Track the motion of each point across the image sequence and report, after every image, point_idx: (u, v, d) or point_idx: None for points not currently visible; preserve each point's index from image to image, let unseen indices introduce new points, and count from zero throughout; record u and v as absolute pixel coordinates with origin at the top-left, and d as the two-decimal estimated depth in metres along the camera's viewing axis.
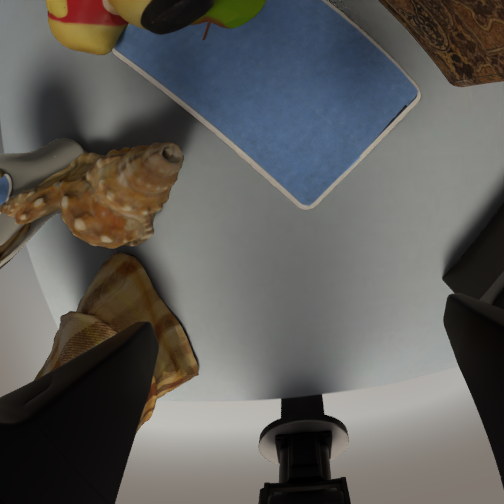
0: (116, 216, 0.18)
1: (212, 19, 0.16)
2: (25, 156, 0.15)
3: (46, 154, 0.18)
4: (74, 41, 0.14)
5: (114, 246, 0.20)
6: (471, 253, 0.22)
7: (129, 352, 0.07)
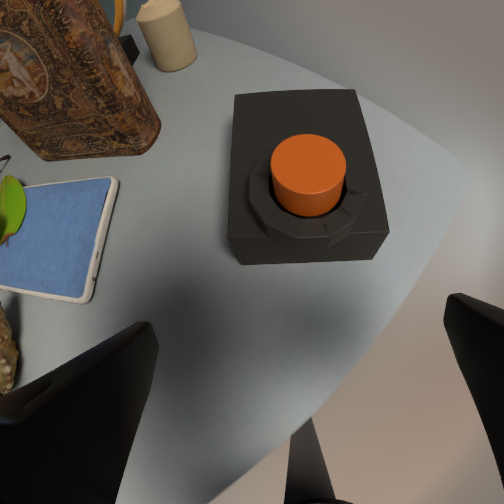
0: None
1: (7, 234, 0.27)
2: None
3: None
4: None
5: None
6: None
7: (129, 352, 0.07)
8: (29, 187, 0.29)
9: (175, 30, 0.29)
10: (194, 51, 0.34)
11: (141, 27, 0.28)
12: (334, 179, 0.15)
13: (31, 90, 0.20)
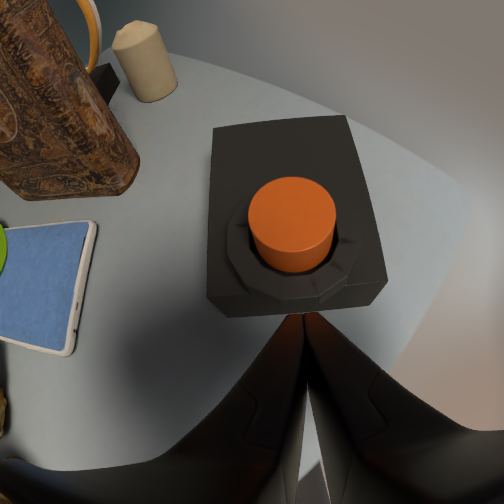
0: None
1: None
2: None
3: None
4: None
5: None
6: None
7: (304, 348, 0.07)
8: (10, 229, 0.28)
9: (152, 58, 0.28)
10: (174, 79, 0.33)
11: (117, 55, 0.27)
12: (322, 231, 0.14)
13: (2, 130, 0.19)
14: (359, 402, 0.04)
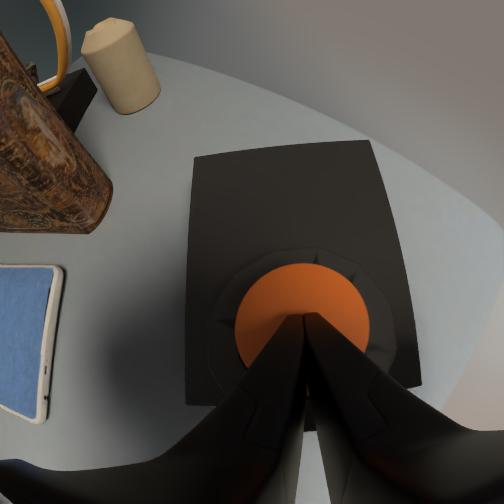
0: None
1: None
2: None
3: None
4: None
5: None
6: None
7: (304, 348, 0.07)
8: None
9: (128, 62, 0.23)
10: (156, 85, 0.28)
11: (87, 61, 0.22)
12: None
13: None
14: (359, 402, 0.04)
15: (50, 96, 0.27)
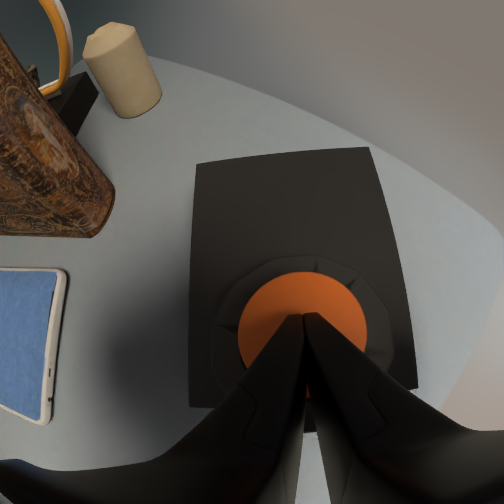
0: None
1: None
2: None
3: None
4: None
5: None
6: None
7: (304, 348, 0.07)
8: None
9: (129, 66, 0.24)
10: (157, 90, 0.28)
11: (88, 65, 0.23)
12: None
13: None
14: (359, 402, 0.04)
15: (52, 100, 0.28)
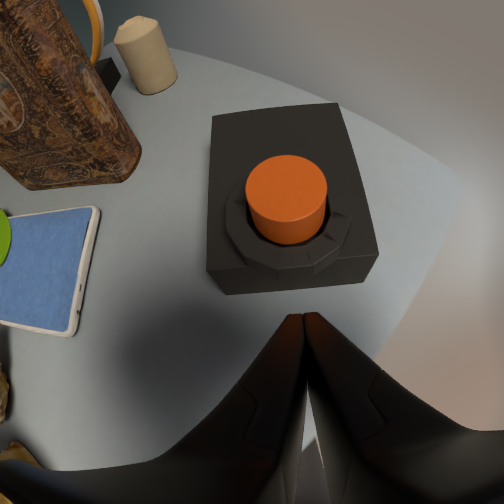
0: None
1: None
2: None
3: None
4: None
5: None
6: None
7: (304, 348, 0.07)
8: (14, 217, 0.29)
9: (153, 51, 0.29)
10: (174, 72, 0.34)
11: (119, 49, 0.28)
12: (314, 203, 0.15)
13: (8, 119, 0.20)
14: (359, 402, 0.04)
15: None
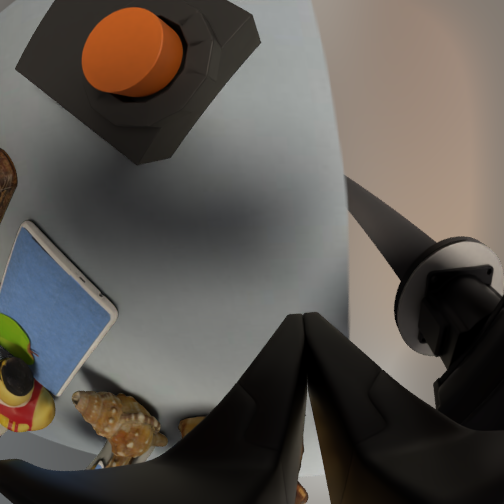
0: (117, 434, 0.25)
1: (27, 348, 0.27)
2: (93, 460, 0.26)
3: (102, 448, 0.28)
4: (43, 420, 0.27)
5: (145, 439, 0.26)
6: None
7: (304, 348, 0.07)
8: None
9: None
10: None
11: None
12: (156, 34, 0.10)
13: None
14: (359, 402, 0.04)
15: None
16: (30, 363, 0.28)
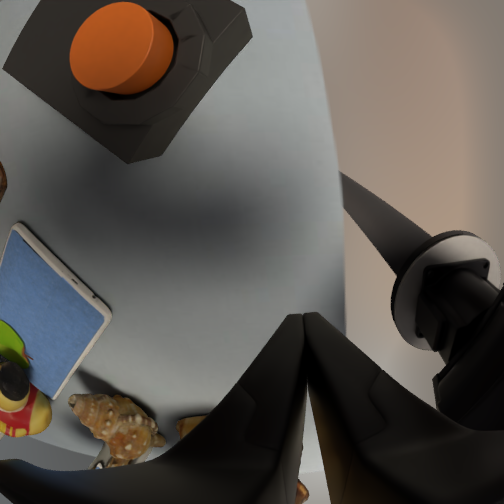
0: (115, 436, 0.25)
1: (22, 352, 0.26)
2: (91, 463, 0.26)
3: None
4: (40, 424, 0.26)
5: (143, 441, 0.26)
6: None
7: (304, 348, 0.07)
8: None
9: None
10: None
11: None
12: (146, 29, 0.09)
13: None
14: (359, 402, 0.04)
15: None
16: (25, 367, 0.27)
